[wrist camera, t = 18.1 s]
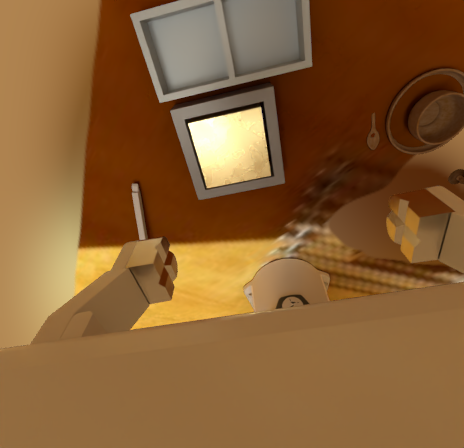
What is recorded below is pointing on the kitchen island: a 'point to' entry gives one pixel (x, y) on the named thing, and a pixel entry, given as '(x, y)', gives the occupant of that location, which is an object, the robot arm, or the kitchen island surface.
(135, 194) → the caliper
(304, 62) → the tray
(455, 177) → the place setting
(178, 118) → the square frame
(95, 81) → the kitchen island surface
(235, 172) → the button
